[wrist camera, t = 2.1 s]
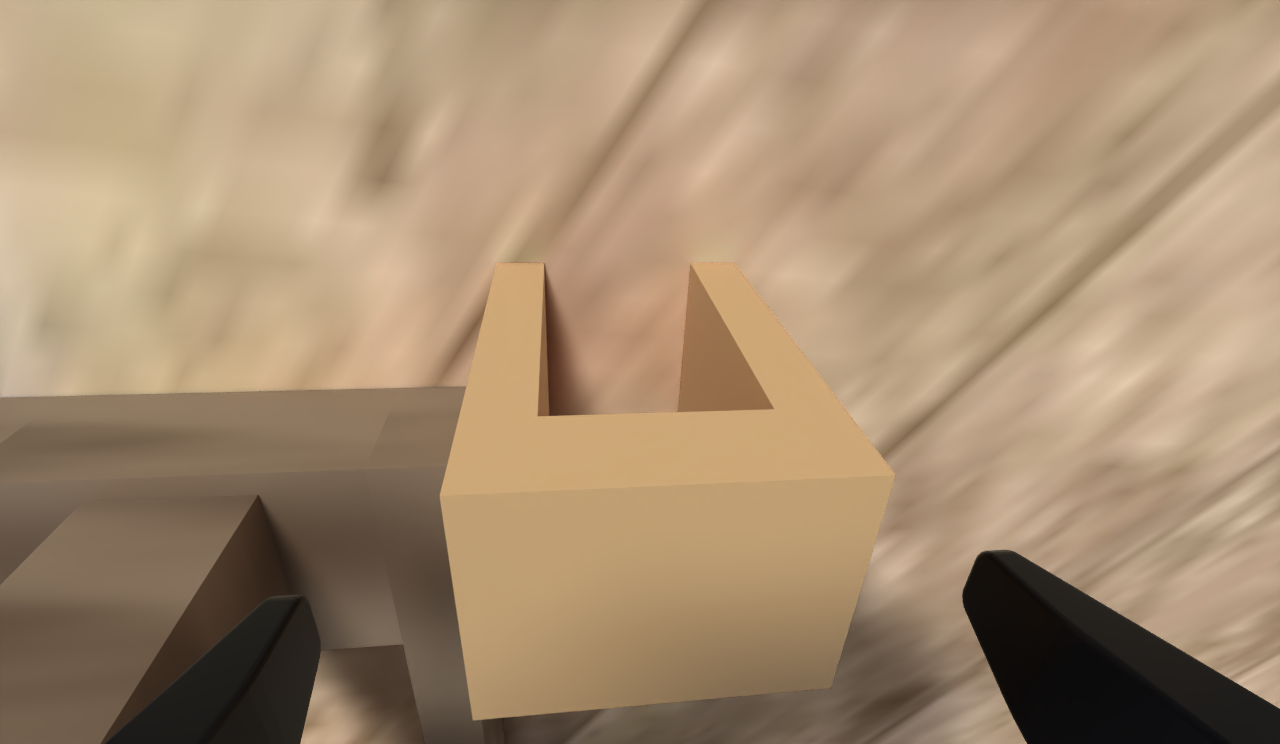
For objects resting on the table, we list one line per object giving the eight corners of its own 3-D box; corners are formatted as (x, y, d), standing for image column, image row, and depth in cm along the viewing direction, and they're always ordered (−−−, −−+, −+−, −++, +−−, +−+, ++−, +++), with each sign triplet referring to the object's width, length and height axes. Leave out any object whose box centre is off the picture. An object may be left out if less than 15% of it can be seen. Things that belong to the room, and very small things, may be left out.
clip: (716, 414, 16) (831, 687, 9) (508, 420, 15) (473, 720, 9) (734, 263, 14) (895, 474, 7) (496, 263, 13) (440, 495, 7)
